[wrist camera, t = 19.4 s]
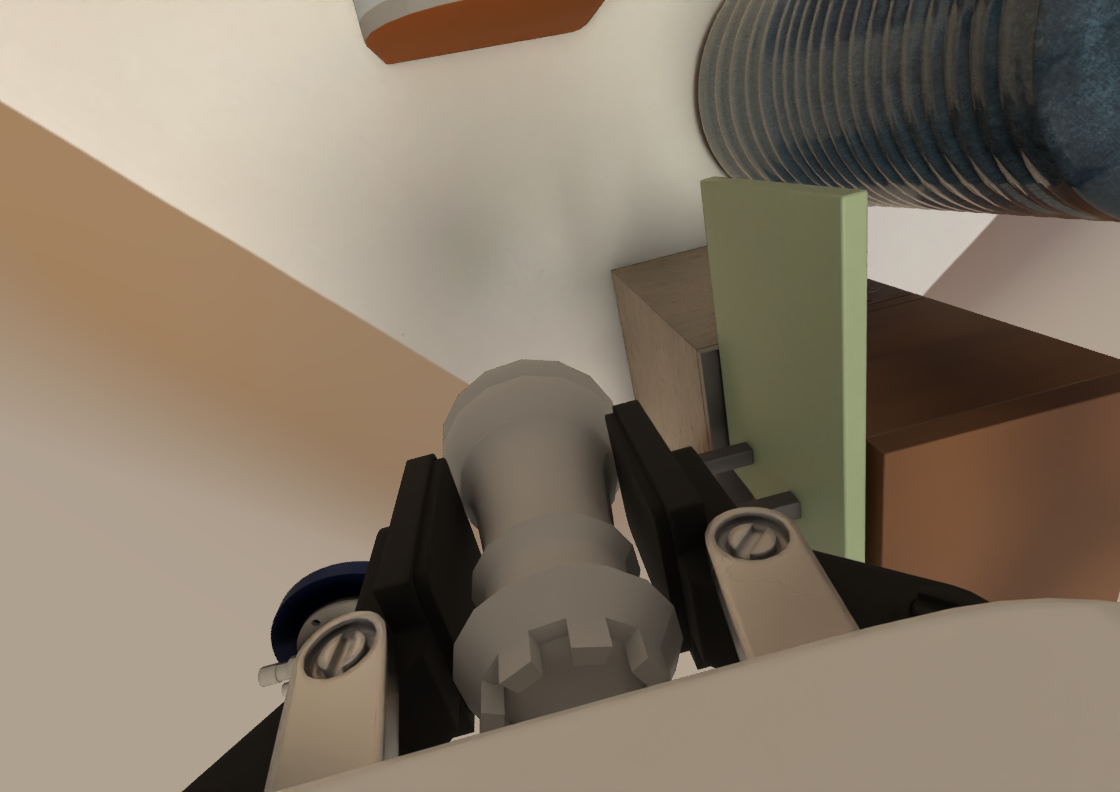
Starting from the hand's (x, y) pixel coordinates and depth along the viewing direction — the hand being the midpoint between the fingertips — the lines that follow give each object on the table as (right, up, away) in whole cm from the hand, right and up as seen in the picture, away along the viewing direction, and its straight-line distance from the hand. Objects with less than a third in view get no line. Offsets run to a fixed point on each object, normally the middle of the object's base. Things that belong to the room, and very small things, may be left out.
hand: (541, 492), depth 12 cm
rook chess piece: (0, +1, +3) cm, 3 cm away
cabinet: (+11, +7, +35) cm, 38 cm away
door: (+6, +4, +13) cm, 15 cm away
